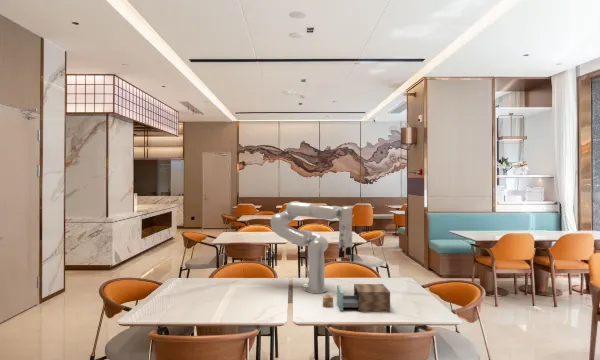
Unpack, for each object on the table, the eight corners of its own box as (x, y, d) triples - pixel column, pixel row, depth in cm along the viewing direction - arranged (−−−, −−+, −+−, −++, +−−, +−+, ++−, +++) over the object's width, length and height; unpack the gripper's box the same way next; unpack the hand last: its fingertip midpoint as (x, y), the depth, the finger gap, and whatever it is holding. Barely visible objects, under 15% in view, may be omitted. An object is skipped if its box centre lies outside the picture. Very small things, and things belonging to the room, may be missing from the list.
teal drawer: (340, 310, 207) (340, 292, 207) (337, 301, 223) (337, 285, 223) (371, 310, 208) (371, 292, 208) (365, 301, 223) (365, 285, 223)
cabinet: (359, 311, 207) (359, 292, 207) (353, 302, 223) (354, 284, 223) (390, 311, 208) (390, 292, 208) (382, 302, 224) (382, 284, 224)
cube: (323, 307, 214) (323, 297, 214) (322, 304, 219) (322, 295, 219) (333, 307, 215) (333, 297, 215) (332, 304, 220) (332, 295, 220)
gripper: (345, 229, 232) (344, 259, 232) (356, 226, 247) (356, 254, 247) (333, 228, 236) (333, 257, 236) (345, 225, 251) (345, 253, 251)
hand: (344, 256), depth 241 cm, fingers open, 9 cm apart
